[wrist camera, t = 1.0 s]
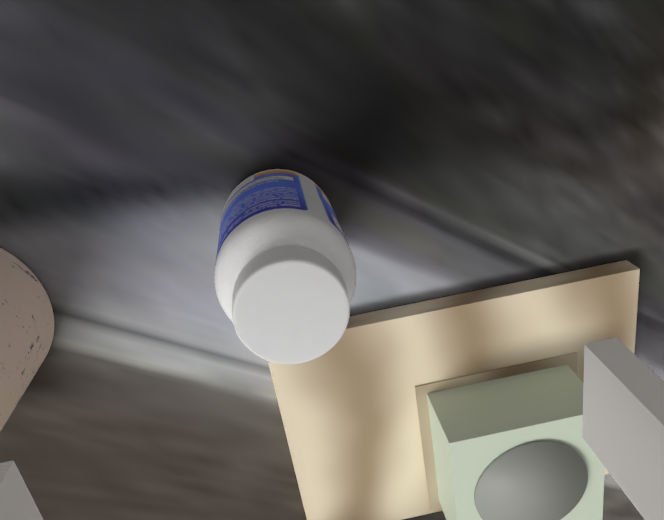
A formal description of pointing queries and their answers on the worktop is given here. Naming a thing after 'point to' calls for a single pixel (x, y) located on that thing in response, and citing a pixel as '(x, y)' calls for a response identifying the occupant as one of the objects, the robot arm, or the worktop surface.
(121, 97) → the worktop surface
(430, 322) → the board
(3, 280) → the teacup with lid
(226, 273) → the pill bottle
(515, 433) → the base block
